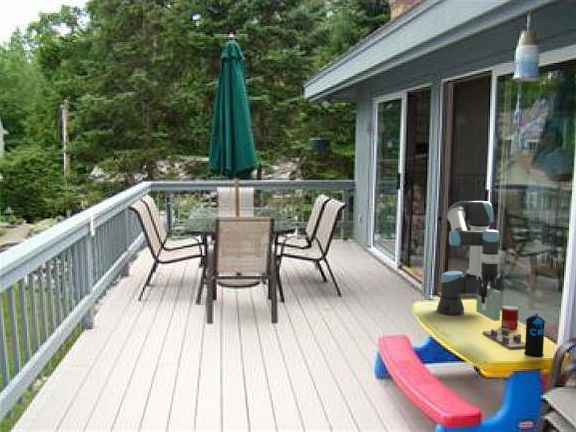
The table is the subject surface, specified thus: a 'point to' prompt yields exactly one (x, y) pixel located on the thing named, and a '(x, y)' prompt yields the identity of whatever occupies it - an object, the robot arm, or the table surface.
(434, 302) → the table surface
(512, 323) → the canned food
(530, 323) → the aerosol can
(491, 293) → the door
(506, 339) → the hinge board
